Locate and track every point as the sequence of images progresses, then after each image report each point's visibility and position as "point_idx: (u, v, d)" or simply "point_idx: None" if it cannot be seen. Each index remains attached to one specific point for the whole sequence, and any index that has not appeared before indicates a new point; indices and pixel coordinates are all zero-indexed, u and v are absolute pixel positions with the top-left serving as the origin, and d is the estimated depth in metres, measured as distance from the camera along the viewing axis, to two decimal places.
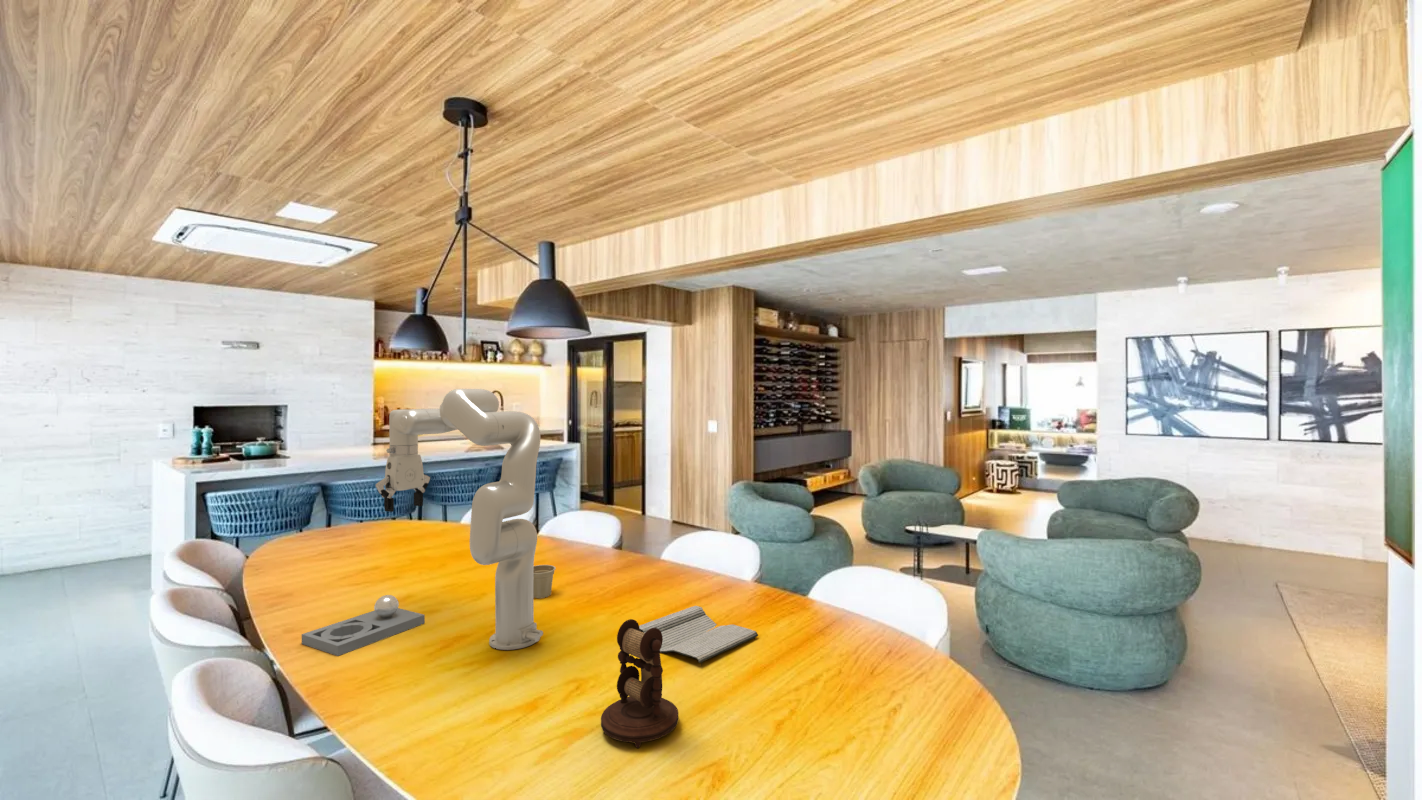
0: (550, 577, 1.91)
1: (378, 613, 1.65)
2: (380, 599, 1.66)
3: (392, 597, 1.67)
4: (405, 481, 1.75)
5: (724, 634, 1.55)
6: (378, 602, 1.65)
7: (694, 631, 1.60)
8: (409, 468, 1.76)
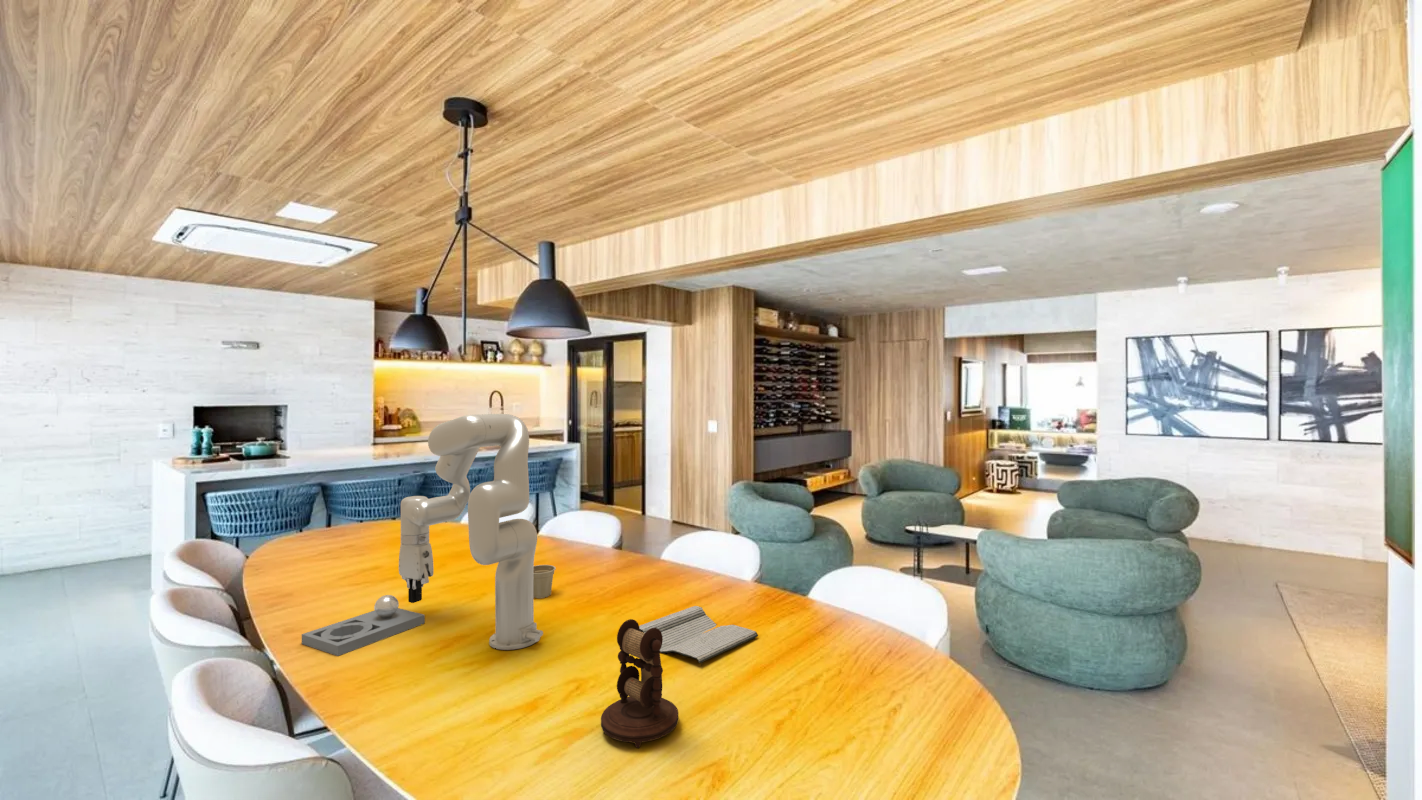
0: (550, 577, 1.91)
1: (378, 613, 1.65)
2: (380, 599, 1.66)
3: (392, 597, 1.67)
4: None
5: (724, 634, 1.55)
6: (378, 602, 1.65)
7: (694, 632, 1.60)
8: None
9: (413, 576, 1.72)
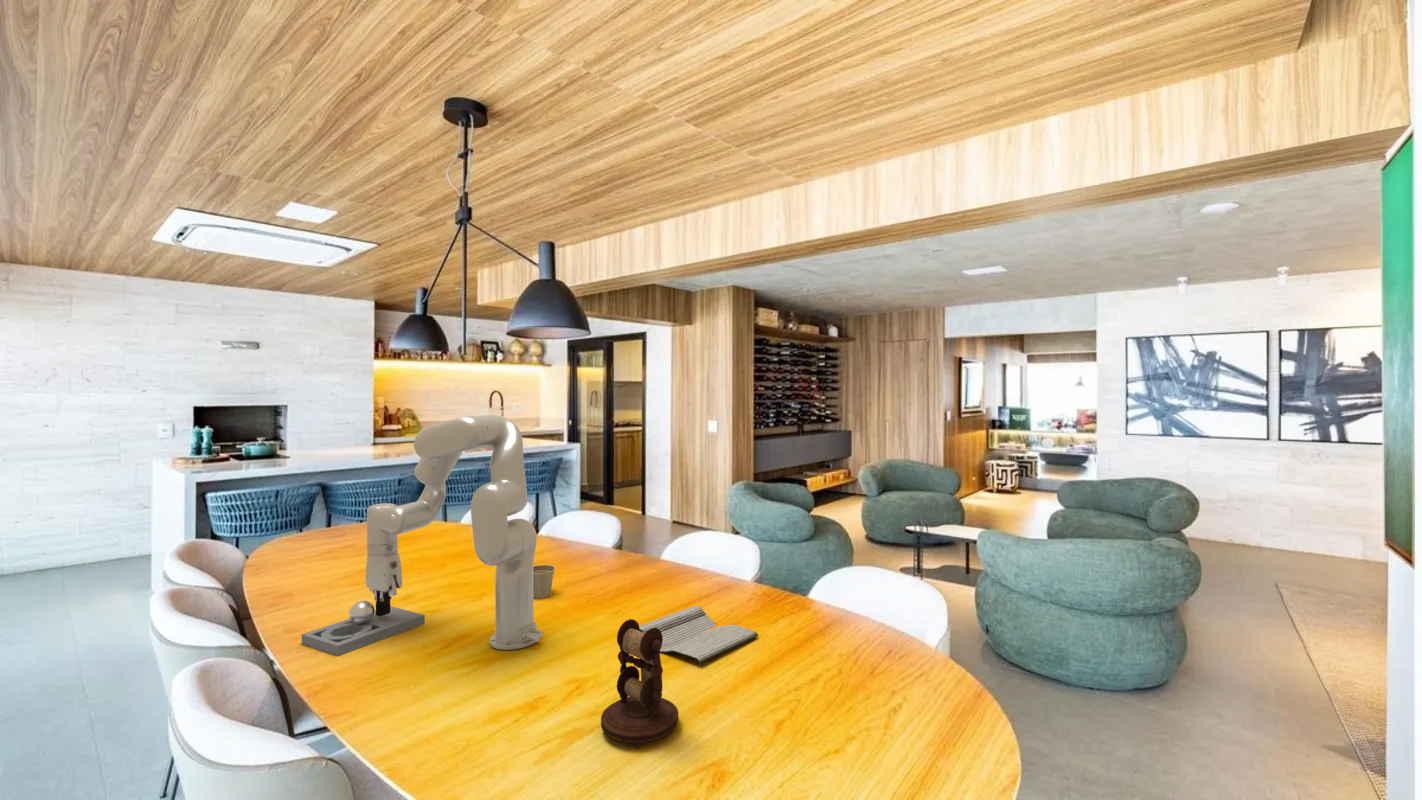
0: (550, 577, 1.91)
1: (372, 616, 1.64)
2: (357, 623, 1.62)
3: (352, 616, 1.60)
4: None
5: (724, 634, 1.55)
6: (361, 623, 1.62)
7: (694, 632, 1.60)
8: None
9: (380, 588, 1.64)
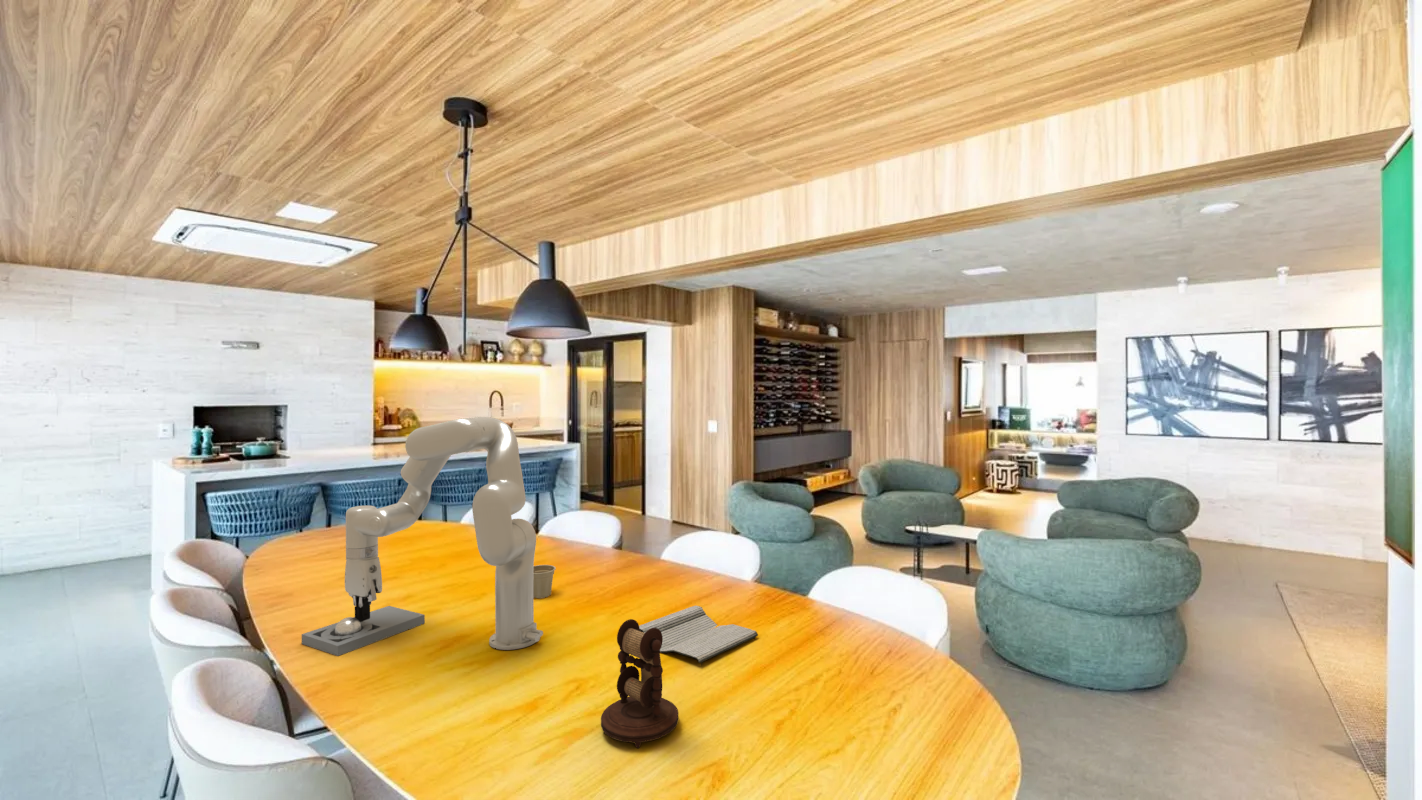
0: (550, 577, 1.91)
1: None
2: None
3: None
4: None
5: (724, 634, 1.55)
6: None
7: (694, 631, 1.60)
8: None
9: (359, 592, 1.59)
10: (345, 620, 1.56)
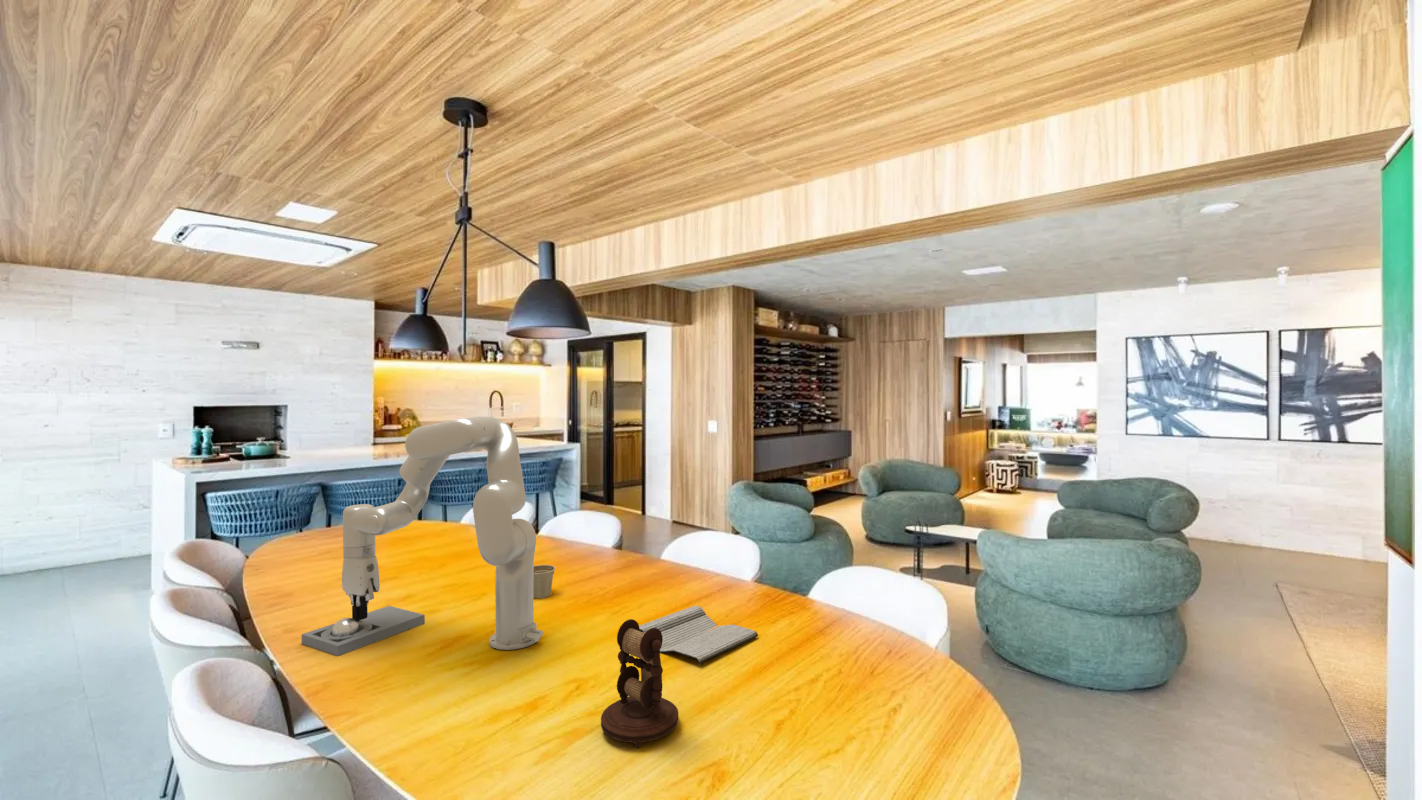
0: (550, 577, 1.91)
1: None
2: None
3: None
4: None
5: (724, 634, 1.55)
6: None
7: (694, 631, 1.60)
8: None
9: (357, 591, 1.58)
10: (340, 622, 1.55)
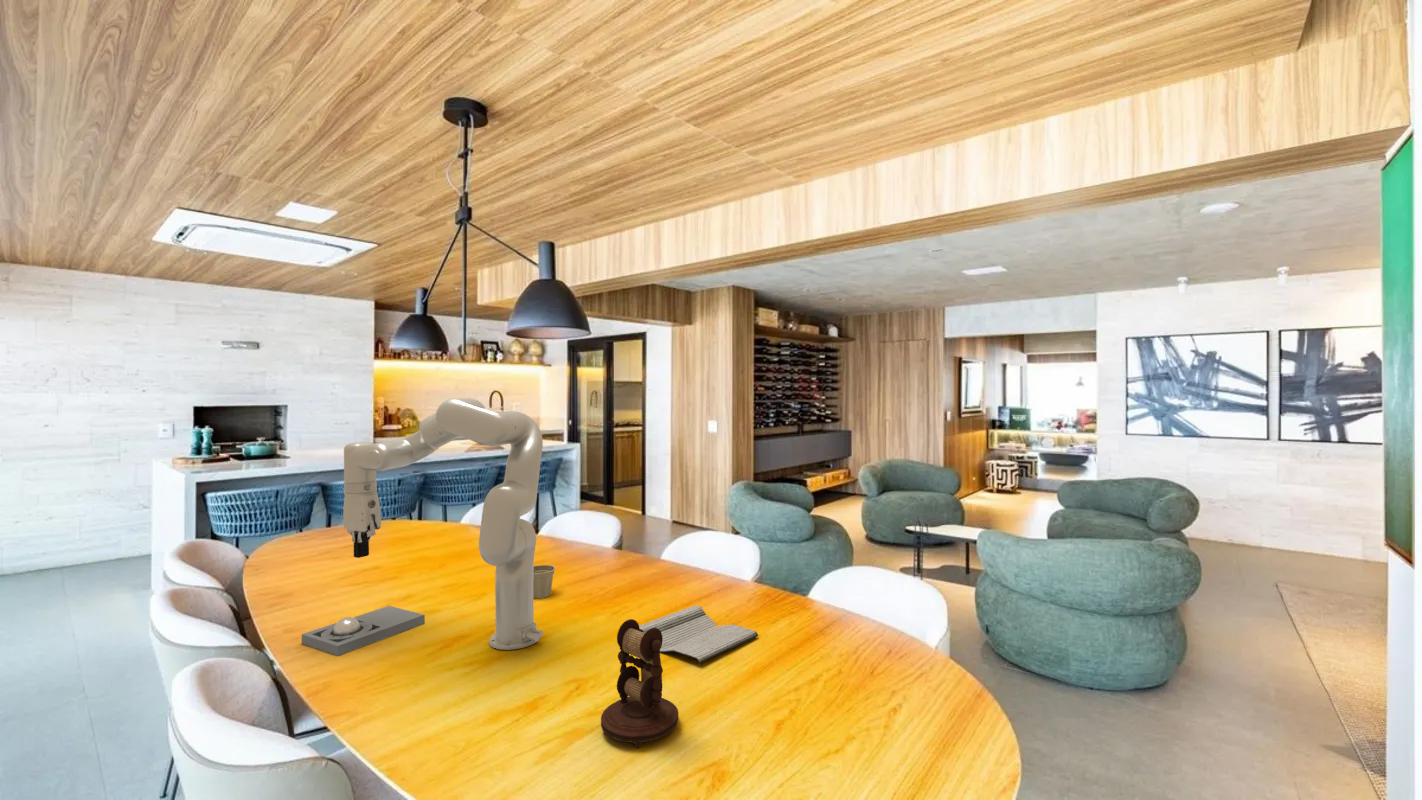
0: (550, 577, 1.91)
1: None
2: None
3: None
4: None
5: (724, 634, 1.55)
6: None
7: (694, 631, 1.60)
8: None
9: (358, 527, 1.58)
10: (343, 620, 1.56)
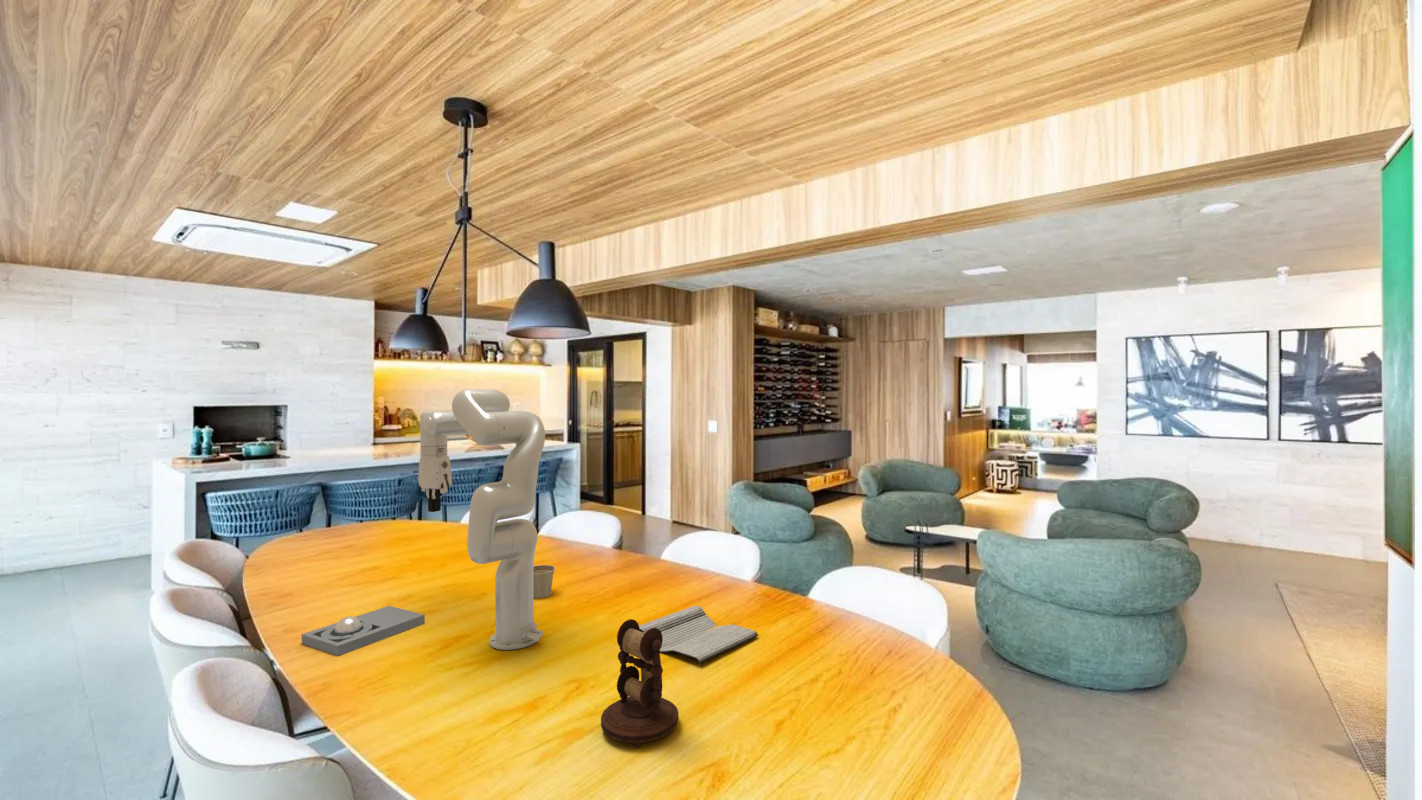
0: (550, 577, 1.91)
1: None
2: None
3: None
4: None
5: (724, 634, 1.55)
6: None
7: (694, 631, 1.60)
8: None
9: (433, 485, 1.80)
10: (346, 618, 1.57)
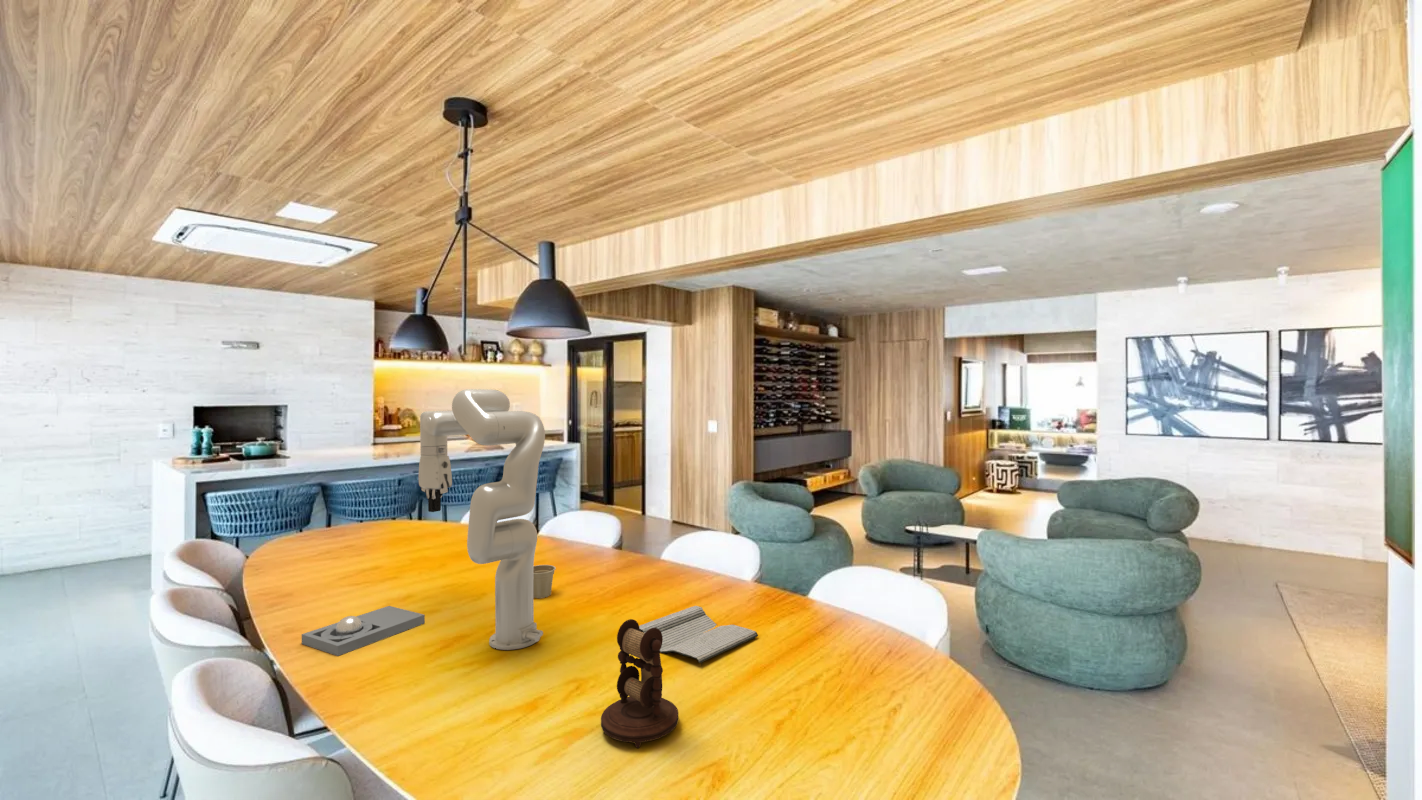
0: (550, 577, 1.91)
1: None
2: None
3: None
4: None
5: (724, 634, 1.55)
6: None
7: (694, 632, 1.60)
8: None
9: (433, 485, 1.80)
10: (348, 617, 1.58)
